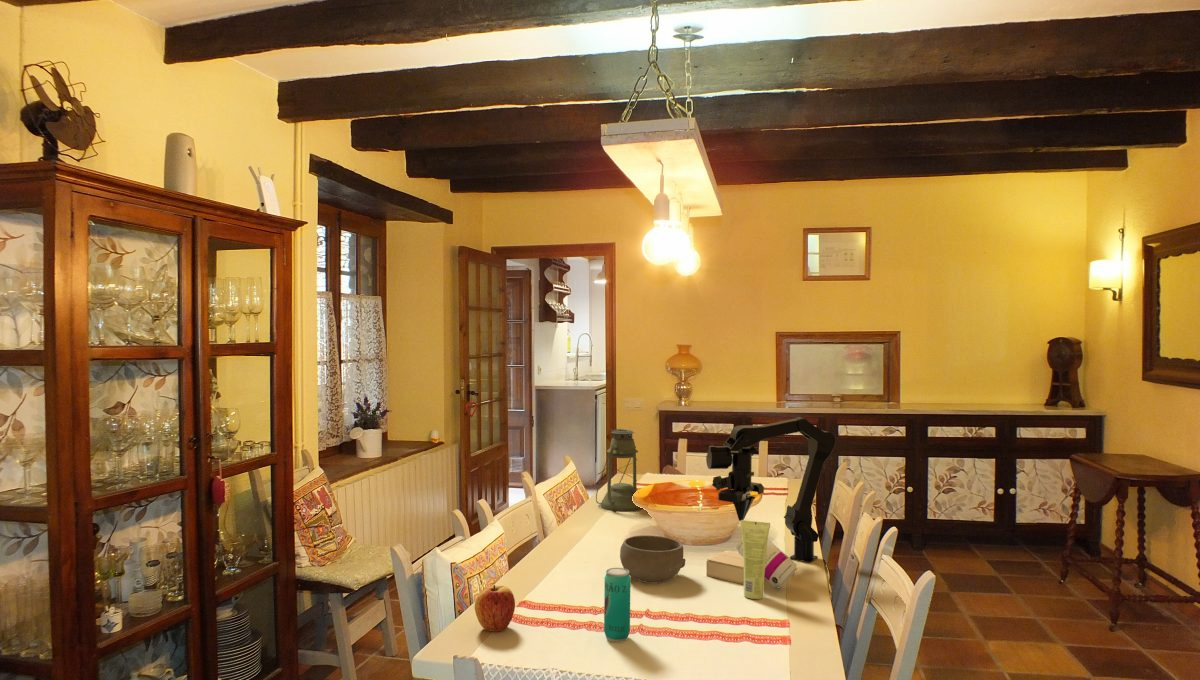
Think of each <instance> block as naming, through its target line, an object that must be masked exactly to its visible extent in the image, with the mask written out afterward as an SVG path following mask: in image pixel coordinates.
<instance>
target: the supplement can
mask: <svg viewBox="0 0 1200 680" xmlns="http://www.w3.org/2000/svg"><path fill="white" fill-rule="evenodd" d="M736 549H737V552H739V554H740V555H741V556H742V557H743V540H742V538H741V539H740V541H739V542H738V543H737V545H736ZM797 569H798V567H797V563H796V562H794V560H793V559H790V556H788V555H786V553H784V551H782V550H781V549H780V548H779V547H777V545H776V544H774V543H773V542H772V541H771V540H770V539H769V538H768V542H767V551H766V562H765V575H764V577H765V578H766V579H765V580H767V581H768V582H769V583H770V584H771V586H772V585H773V587H774V588H775V589H777V588H779V589H781V588H783V587H784V586H785V585H786V584H787V583H788V581H790V580H791V578H793V576H794V574H795V573H796V572H797Z"/></svg>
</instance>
